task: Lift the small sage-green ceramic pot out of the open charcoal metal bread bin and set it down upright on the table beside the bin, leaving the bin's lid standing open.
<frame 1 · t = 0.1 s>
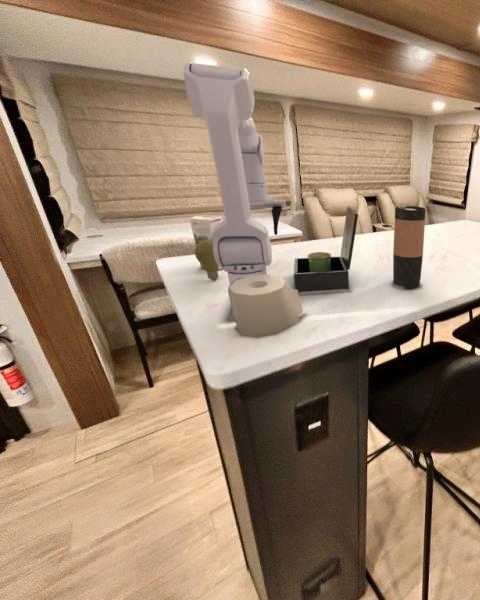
hand: (261, 234, 87), 10 cm above the table, tool pointing down, fingers open, 7 cm apart
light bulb: (214, 280, 81), on the table
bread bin: (321, 283, 81), on the table
toilet tissue: (272, 323, 61), on the table, touching arm
green pot: (321, 280, 81), point 1 cm above the table, touching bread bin
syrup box: (216, 267, 91), on the table
bin lid: (348, 236, 78), point 12 cm above the table, hinge at 100.0°
travel mug: (406, 285, 83), on the table
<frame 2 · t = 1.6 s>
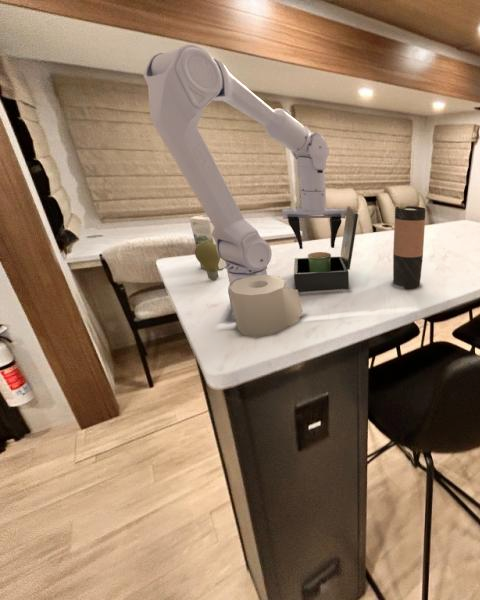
hand: (317, 247, 78), 10 cm above the table, tool pointing down, fingers open, 7 cm apart
nothing on the table moved.
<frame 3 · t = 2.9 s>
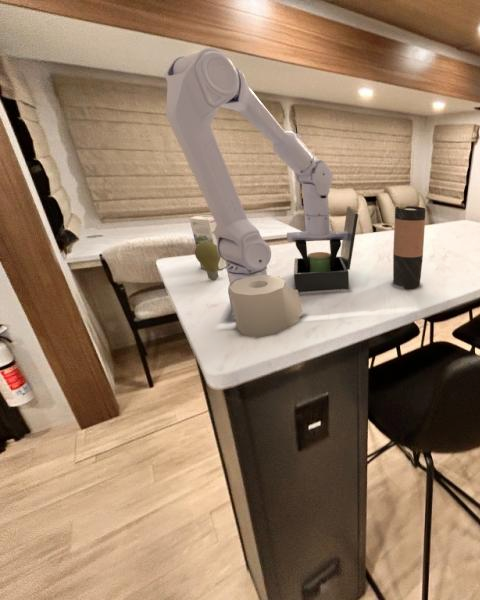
hand: (320, 268, 80), 4 cm above the table, tool pointing down, fingers closed on green pot, 5 cm apart
green pot: (321, 280, 81), point 1 cm above the table, touching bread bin, gripper
everything else where it was.
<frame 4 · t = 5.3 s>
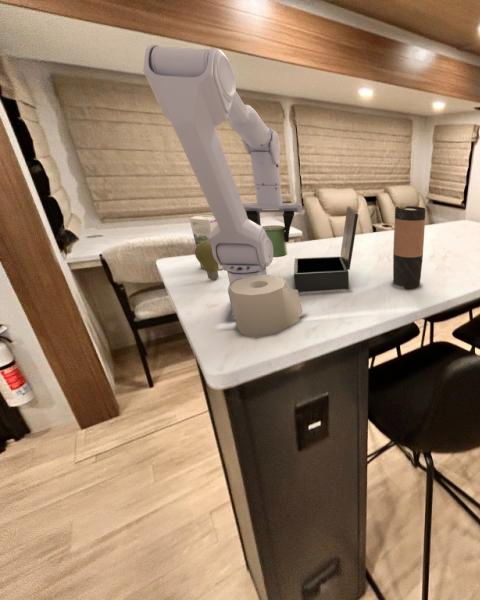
hand: (274, 241, 78), 10 cm above the table, tool pointing down, fingers closed on green pot, 5 cm apart
green pot: (276, 254, 80), point 7 cm above the table, touching gripper
everything else where it was.
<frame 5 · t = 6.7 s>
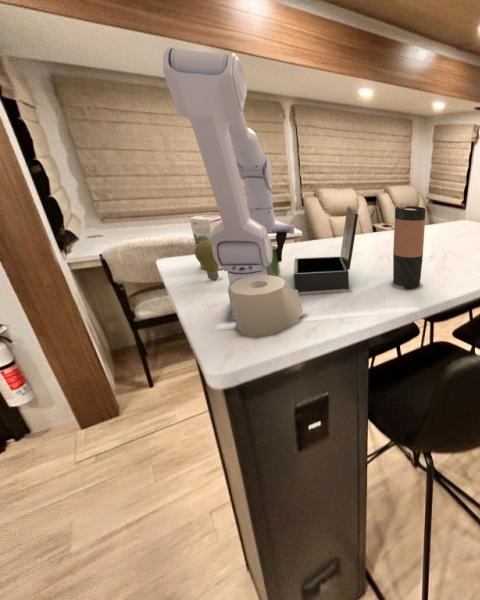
hand: (268, 261, 81), 5 cm above the table, tool pointing down, fingers closed on green pot, 5 cm apart
green pot: (269, 273, 82), point 2 cm above the table, touching gripper
everything else where it was.
when the fingers open (3 cm above the table, at t = 7.8 s): green pot stays where it is, on the table.
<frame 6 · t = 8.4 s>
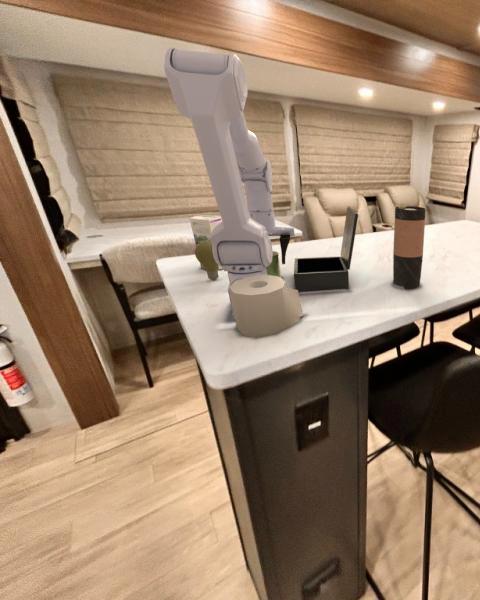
hand: (268, 263, 81), 4 cm above the table, tool pointing down, fingers open, 7 cm apart
green pot: (270, 279, 83), on the table
everything else where it was.
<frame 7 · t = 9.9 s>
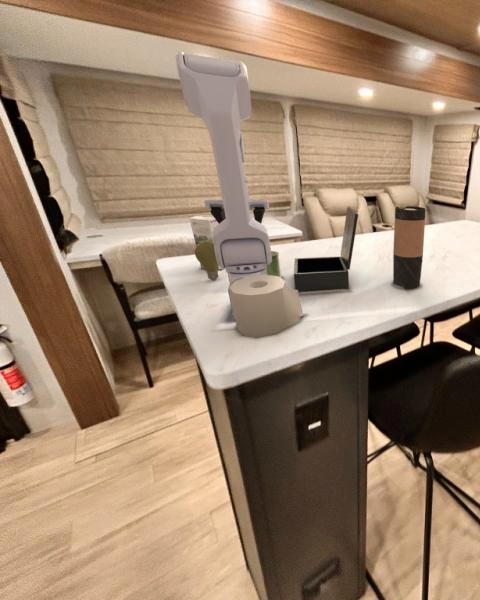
hand: (243, 236, 82), 10 cm above the table, tool pointing down, fingers open, 7 cm apart
nothing on the table moved.
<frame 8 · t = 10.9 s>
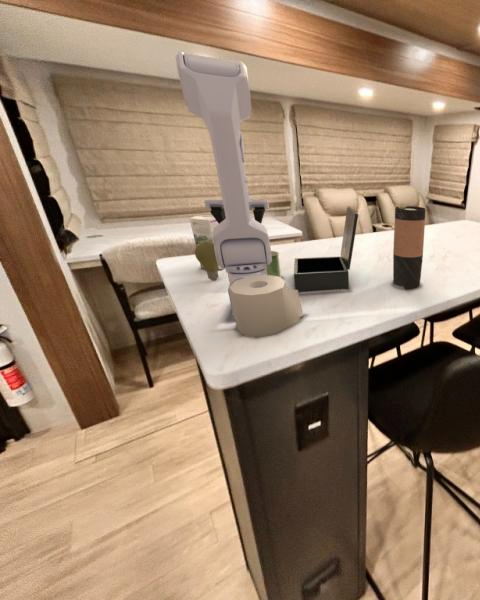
hand: (243, 236, 82), 10 cm above the table, tool pointing down, fingers open, 7 cm apart
nothing on the table moved.
at the end: green pot 0.1 cm from the target spot, on the table; green pot tilted 0°; bin lid at +100° (first picture: +100°) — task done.
